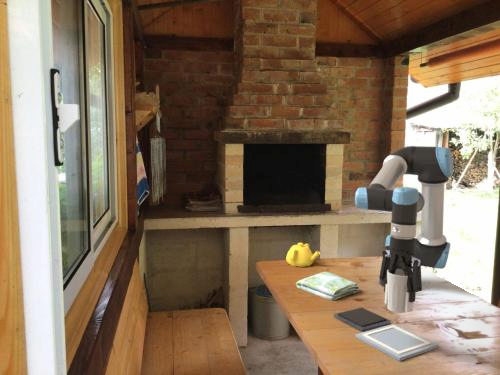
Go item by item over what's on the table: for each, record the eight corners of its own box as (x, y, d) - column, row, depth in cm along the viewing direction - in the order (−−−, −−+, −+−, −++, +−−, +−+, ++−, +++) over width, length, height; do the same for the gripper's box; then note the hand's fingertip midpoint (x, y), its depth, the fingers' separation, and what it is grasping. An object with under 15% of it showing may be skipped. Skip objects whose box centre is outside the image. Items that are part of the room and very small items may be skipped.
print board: (355, 337, 147) (355, 333, 147) (393, 326, 156) (393, 322, 156) (399, 361, 132) (399, 356, 132) (438, 347, 141) (438, 343, 141)
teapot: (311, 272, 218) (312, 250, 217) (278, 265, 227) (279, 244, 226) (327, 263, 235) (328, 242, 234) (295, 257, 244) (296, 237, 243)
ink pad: (333, 317, 163) (334, 313, 163) (361, 310, 170) (361, 306, 170) (361, 331, 151) (362, 327, 151) (390, 323, 159) (390, 319, 158)
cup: (410, 306, 145) (413, 270, 144) (411, 315, 138) (413, 277, 136) (385, 302, 148) (387, 267, 146) (384, 311, 140) (386, 274, 139)
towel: (333, 302, 179) (334, 290, 178) (294, 288, 195) (295, 276, 194) (360, 293, 191) (361, 281, 190) (322, 280, 207) (322, 269, 206)
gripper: (370, 231, 147) (366, 298, 149) (422, 244, 130) (417, 320, 132) (385, 229, 151) (381, 295, 153) (438, 242, 134) (433, 316, 136)
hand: (398, 306), depth 143 cm, fingers closed on cup, 7 cm apart
